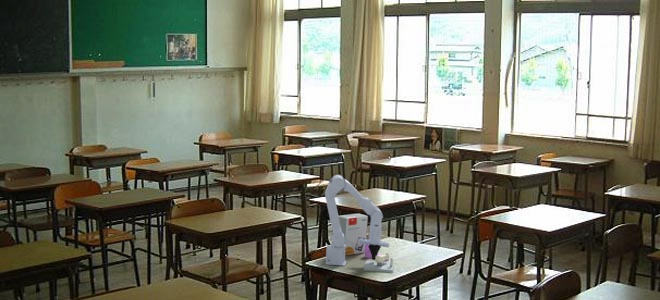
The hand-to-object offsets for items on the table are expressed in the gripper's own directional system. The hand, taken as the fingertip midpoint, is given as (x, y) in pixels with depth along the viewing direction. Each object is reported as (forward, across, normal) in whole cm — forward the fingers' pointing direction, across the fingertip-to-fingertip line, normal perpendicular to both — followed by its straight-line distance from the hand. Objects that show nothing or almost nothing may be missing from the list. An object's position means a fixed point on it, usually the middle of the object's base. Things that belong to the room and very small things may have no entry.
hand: (374, 259), depth 405 cm
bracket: (+3, -3, +13) cm, 13 cm away
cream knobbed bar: (0, +5, -1) cm, 5 cm away
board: (+3, +4, -4) cm, 6 cm away
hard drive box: (+3, -19, +15) cm, 24 cm away
